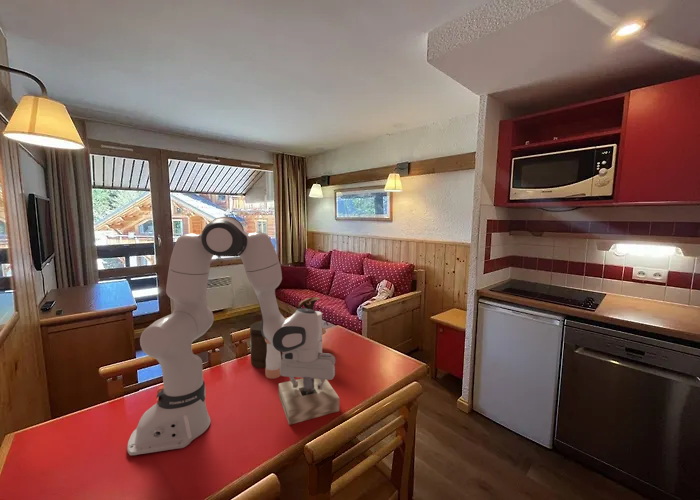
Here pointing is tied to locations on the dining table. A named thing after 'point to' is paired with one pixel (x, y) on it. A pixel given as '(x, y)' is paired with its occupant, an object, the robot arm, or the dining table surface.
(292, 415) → the socket block
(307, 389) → the pin
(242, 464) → the dining table surface
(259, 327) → the wooden container
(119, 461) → the dining table surface
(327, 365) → the robot arm
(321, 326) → the cylindrical container
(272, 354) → the pepper shaker
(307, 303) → the pitcher
